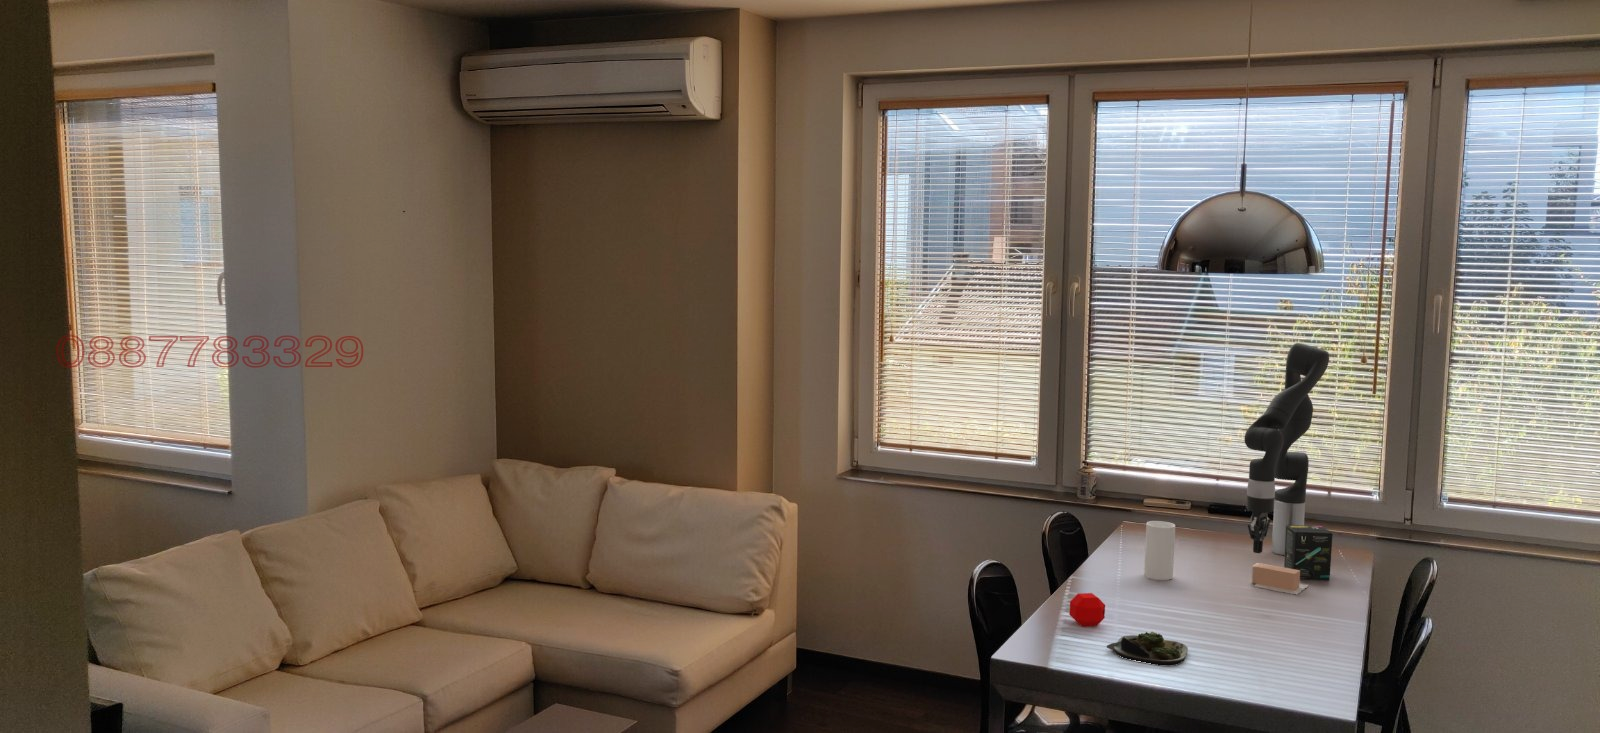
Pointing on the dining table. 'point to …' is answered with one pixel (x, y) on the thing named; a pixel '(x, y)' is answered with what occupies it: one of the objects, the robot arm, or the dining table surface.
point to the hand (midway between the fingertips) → (1257, 552)
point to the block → (1275, 576)
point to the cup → (1159, 550)
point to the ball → (1087, 609)
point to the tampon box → (1308, 551)
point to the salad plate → (1150, 649)
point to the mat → (1298, 590)
